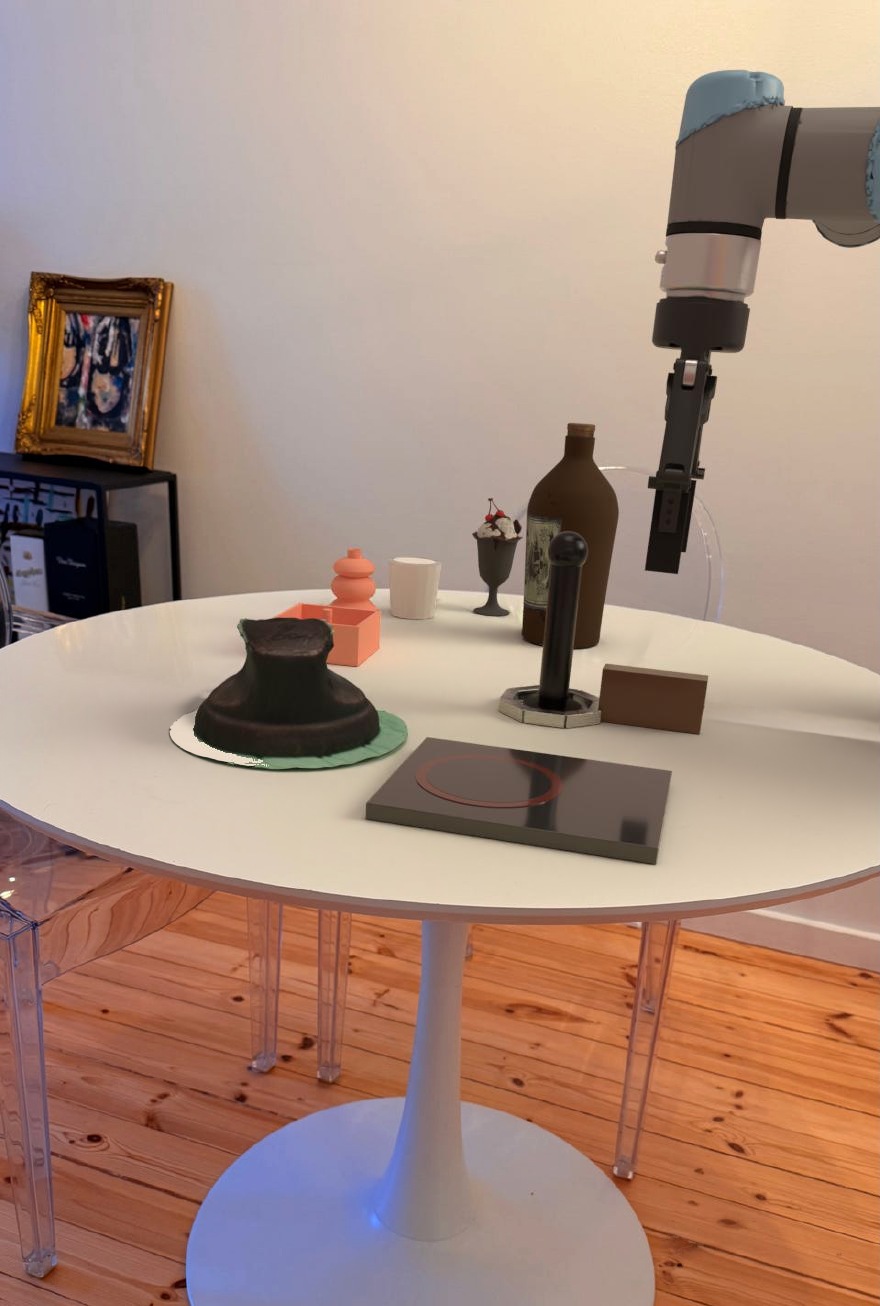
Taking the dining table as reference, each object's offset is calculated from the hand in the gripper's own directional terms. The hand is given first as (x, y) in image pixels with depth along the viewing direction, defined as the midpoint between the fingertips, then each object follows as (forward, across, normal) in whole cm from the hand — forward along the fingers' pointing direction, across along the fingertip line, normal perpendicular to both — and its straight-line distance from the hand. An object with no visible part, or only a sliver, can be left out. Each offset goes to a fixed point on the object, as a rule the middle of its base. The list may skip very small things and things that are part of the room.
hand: (666, 560), depth 96 cm
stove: (+15, +24, -6) cm, 29 cm away
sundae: (+16, -42, -24) cm, 51 cm away
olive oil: (+15, -31, -13) cm, 36 cm away
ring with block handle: (+15, 0, -4) cm, 16 cm away
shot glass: (+16, -36, -33) cm, 51 cm away
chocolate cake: (+16, +16, -29) cm, 36 cm away
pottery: (+16, -16, -36) cm, 42 cm away
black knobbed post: (+15, 0, -9) cm, 17 cm away
